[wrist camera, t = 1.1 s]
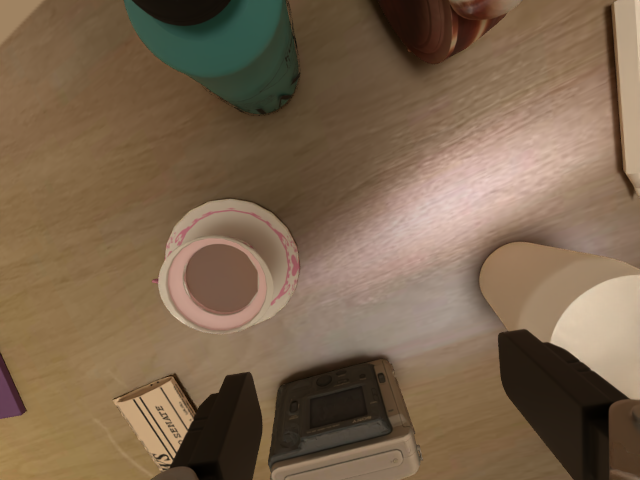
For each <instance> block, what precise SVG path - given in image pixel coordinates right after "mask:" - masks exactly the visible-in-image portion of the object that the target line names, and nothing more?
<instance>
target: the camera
mask: <svg viewBox="0 0 640 480" xmlns="http://www.w3.org/2000/svg"><path fill="white" fill-rule="evenodd" d="M414 434H415V431H414V428H413V425H412V422H411V420H410V417H409V413H408V410H407V407H406V405H405V402H404V399H403V396H402V393H401V390H400V388H399V385H398V382H397V380H396V378H395V377H394V369H393V366H392V364H390V363H389V362H388V361H387V360H385V359H379V360H375V361H371V362H367V363H362V364H358V365H354V366H350V367H347V368H343V369H339V370H335V371H331V372H328V373H325V374H321V375H317V376H312V377H310V378H307V379H302V380H298V381H295V382H291V383H287V384H284V385H281V387H280V388H279V389H278V393H277V400H276V410H275V418H274V424H273V433H272V441H271V447H270V454H269V459H268V465H269V468H270V471H271V476H270V480H400V479H404V478H406V477H409V476H411V475H414V474H415V473H416V472H417V471H418V468H419V466H420V460H423V458H422V454H421V449H420V446H419V445H416V441H415V437H414ZM418 451H419V452H420V456H419V453H418Z"/></svg>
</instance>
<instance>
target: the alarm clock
mask: <svg viewBox="0 0 640 480" xmlns="http://www.w3.org/2000/svg"><path fill="white" fill-rule="evenodd" d="M521 1H522V0H378V2H379V4H380V6H381V8H382V10H383V12H384V14H385V16H386V18H387V19H388V21H389V23H390V25H391V26H392V28H393V29H394V31H395V32H396V34H397V35H398V37H399V38H400V39H401V41H402V42H403V43H404V44H405V45H406V46H407V51H408V52H412V53H413V54H415V55H416V56H417V57H418V58H420V59H421V60H423V61H425V62H427V63H431V64H438V63H440V62H442V61H444V60H445V59H447V58H449V57H450V56H452V55H454V54H456V53H458V52H460V51H462V50H464V49H466V48H467V47H468V46H470V45H471V44H473V43H474V42H475V41H477V40H478V39H479V38H480V37H481V36H483V35H484V34H485V33H486V32H487V31H489V30H490V29H491V28H492V27H493V26H495V25H496V24H497V23H498V22H499V21H500V20H501V19H502V18H504V16H505V15H506V14H507V13H508V12H509V11H511V10H512V9H513V8H515V7H516V6H517V5H518V4H519V3H520V2H521Z"/></svg>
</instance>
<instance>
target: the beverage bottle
mask: <svg viewBox="0 0 640 480" xmlns="http://www.w3.org/2000/svg"><path fill="white" fill-rule="evenodd" d="M124 3H125V7H126V10H127V13H128V16H129V19H130V21H131V23H132V25H133V27H134V29H135V31H136V33H137V34H138V36H139V37H140V39H141V40H142V42H143V43H144V44H145V45H146V47H147V48H148V49H149V50H150V51H151V52H152V53H153V54H154V55H155V56H156V57H157V58H159V59H160V60H161V61H162V62H164V63H165V64H167V65H169V66H170V67H172V68H173V69H175V70H177V71H180V72H182V73H184V74H186V75H188V76H189V77H191V78H193V79H194V80H196V81H197V82H199V83H201V85H204V86H205V87H206V88H208V90H210V91H209V92H210V93H212V92H213V93H215V94H217V95H218V96H220V97H221V98H223V99H225V100H226V101H228V102H230V103H231V104H233V105H234V106H236V107H238V108H236V107H234V108H236V109H238V110H239V111H241V112H243V111H245V112H248V113H253V114H266V113H269V114H270V112H272V113H273V111H275V110H277V109H279V108H280V107H281V106H282V107H283V105H284V104H285V103H286V102H287V101H288V100H289V99H290V97H291V96H294V95H292V94H293V92H294V91H296V90H295V88H296V85H297V81H298V80H299V79H298V78H300V77H299V74H300V72H301V70H300V72H299V71H298V61H297V58H299V57H297V56H296V51H295V49H296V48H297V43H296V38H295V36H293V33H294V32H293V33H292V31H291V26H290V25H291V24H290V23H291V22H290V21H291V20H292V19H291V16H290V21H289V16H288V11H287V7H289V8H290V6H288V4H289V3H288V4H287V2H286V1H285V0H124ZM286 5H287V6H286ZM289 5H290V4H289ZM290 10H291V9H290ZM290 10H289V12H291V11H290ZM292 26H293V23H292ZM292 30H293V27H292ZM294 34H295V33H294ZM294 38H295V39H294ZM293 39H294V40H295V44H296V45H295V44H294V41H293ZM294 45H295V46H296V48H295V46H294ZM297 53H298V50H297ZM298 55H299V54H298ZM298 72H299V74H298ZM297 86H298V85H297ZM297 88H298V87H297ZM205 90H206V89H205ZM206 91H207V90H206ZM211 91H212V92H211ZM213 93H212V94H213ZM212 94H211V95H212ZM291 98H292V97H291ZM218 99H219V98H218ZM225 100H224V101H225ZM224 101H223V102H224ZM288 103H289V102H288ZM288 103H287V104H288ZM228 105H229V104H228ZM231 106H232V105H231ZM232 107H233V106H232ZM282 107H281V109H282ZM240 109H241V110H240ZM242 110H243V111H242ZM278 111H279V110H278ZM245 112H244V113H245ZM248 113H247V114H248ZM274 113H275V112H274ZM264 116H265V115H264Z"/></svg>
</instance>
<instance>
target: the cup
mask: <svg viewBox="0 0 640 480" xmlns="http://www.w3.org/2000/svg"><path fill="white" fill-rule="evenodd" d="M479 284H480V289H481V292H482V294H483V296H484V297H485V299H486V300H487V302H488V303H489V305H490V306H491V307H492V309H493V310H494V312H495V313H496V314H497V316H498V317H499V319H500V320H501V321H502V323H503V324H504V326H505V327H506V328H507V330H508V331H513V330H520V329H526V330H528V331H529V332H530V333H532V334H533V335H534V336H535V337H536V338H538V339H539V340H540V341H541V342H543V343H544V342H549V343H552V344H554V345H556V346H559V347H561V348H564V349H566V350H567V351H569V352H570V353H571V354H572V355H574V356H575V357H576V358H578V359H579V361H580V362H583V363H584V364H585V365H587V366H588V367H589V368H590V369H591V371H595V372H596V373H597V374H598V375H600V376H601V377H602V378H604V379H605V380H606V381H607V382H609V383H610V384H611V385H613V386H614V387H615V388H617V389H618V390H619V391H620V392H622V393H623V394H624V395H626V396H627V397H628V398H630V399H636V400H640V269H638V268H636V267H633V266H631V265H629V264H627V263H625V262H622V261H620V260H616V259H612V258H608V257H603V256H598V255H593V254H587V253H582V252H577V251H571V250H566V249H560V248H555V247H550V246H544V245H539V244H533V243H528V242H513V243H509V244H506V245H504V246H501V247H500V248H498V249H497V250H495V251H494V252H493V253H492V254H491V255H490V256H489V257H488V258H487V259H486V261H485V262H484V264H483V266H482V269H481V272H480V277H479Z"/></svg>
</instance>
